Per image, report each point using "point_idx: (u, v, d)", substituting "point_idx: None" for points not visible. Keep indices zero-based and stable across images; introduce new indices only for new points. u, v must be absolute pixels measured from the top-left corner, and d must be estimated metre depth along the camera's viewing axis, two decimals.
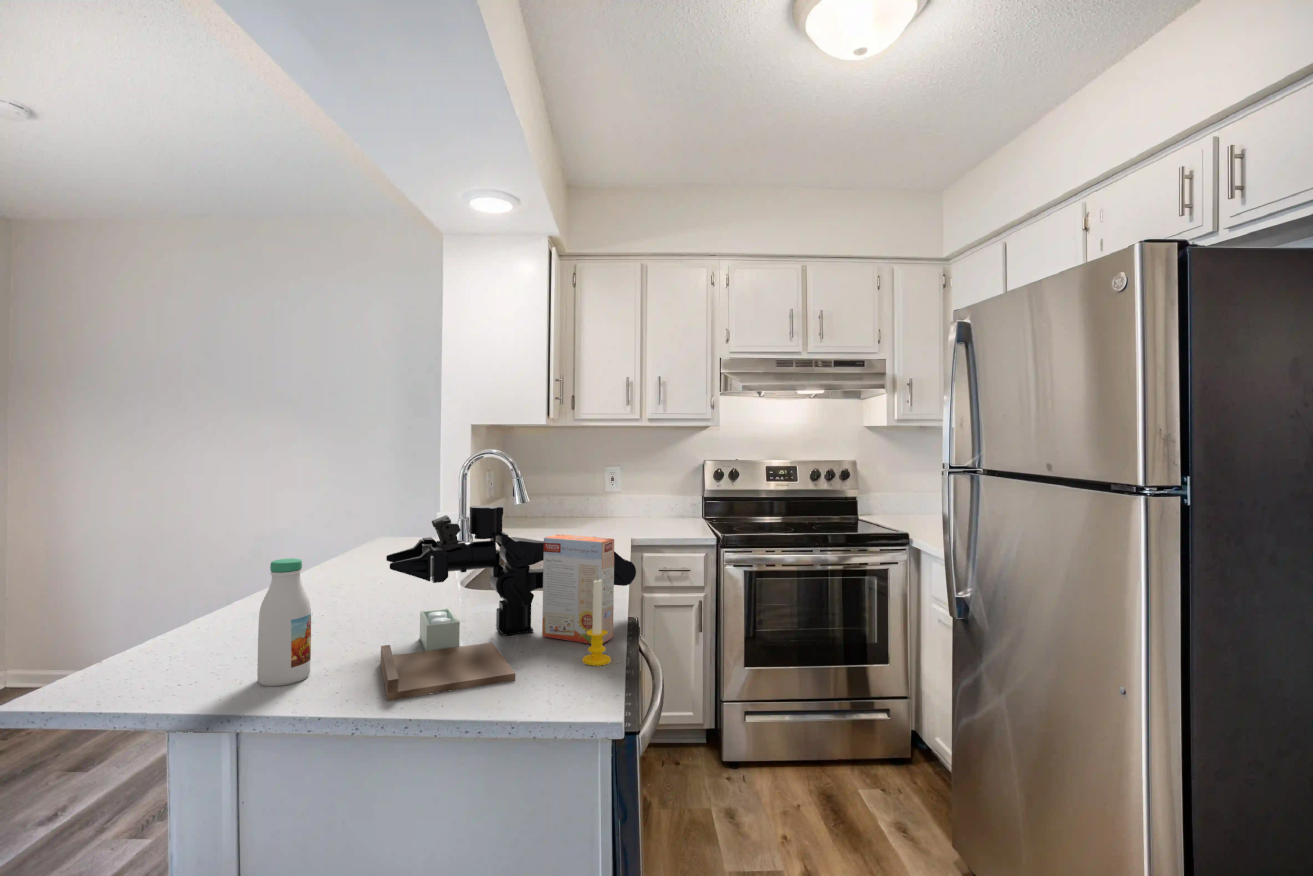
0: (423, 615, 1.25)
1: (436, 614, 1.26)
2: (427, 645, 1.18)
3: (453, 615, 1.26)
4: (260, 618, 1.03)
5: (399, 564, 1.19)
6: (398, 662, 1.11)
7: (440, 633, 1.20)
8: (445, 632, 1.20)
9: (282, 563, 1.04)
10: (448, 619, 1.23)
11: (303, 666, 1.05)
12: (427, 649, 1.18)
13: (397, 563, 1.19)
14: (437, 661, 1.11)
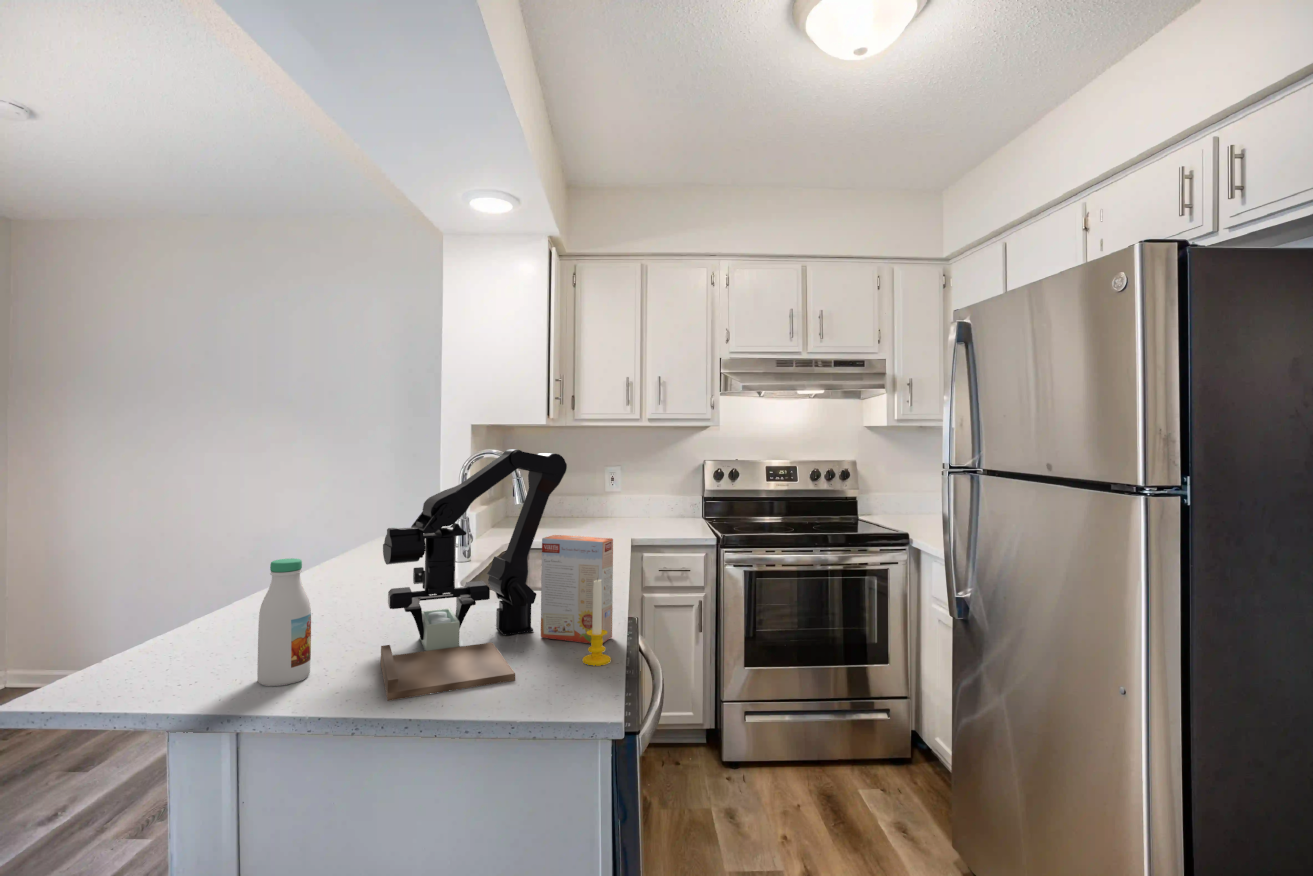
0: (423, 615, 1.25)
1: (436, 614, 1.26)
2: (427, 645, 1.18)
3: (453, 615, 1.26)
4: (260, 618, 1.03)
5: (418, 631, 1.23)
6: (398, 662, 1.11)
7: (440, 633, 1.20)
8: (445, 632, 1.20)
9: (282, 563, 1.04)
10: (448, 619, 1.23)
11: (303, 666, 1.05)
12: (427, 649, 1.18)
13: None
14: (437, 661, 1.11)
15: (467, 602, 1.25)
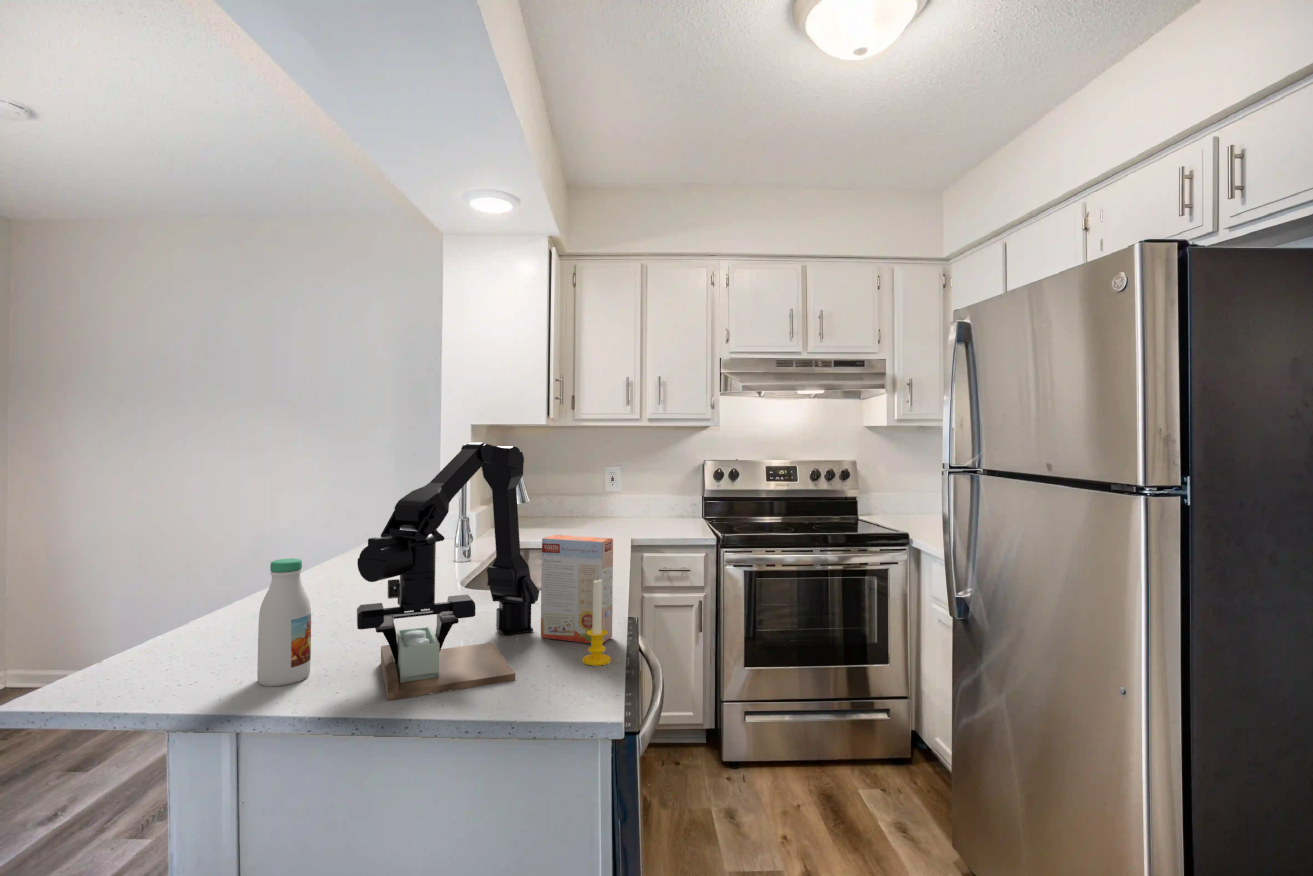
0: (398, 635, 1.08)
1: (413, 634, 1.09)
2: (401, 671, 1.01)
3: (433, 635, 1.09)
4: (260, 618, 1.03)
5: None
6: None
7: (416, 657, 1.03)
8: (422, 656, 1.03)
9: (282, 563, 1.04)
10: (427, 640, 1.06)
11: (303, 666, 1.05)
12: (401, 676, 1.01)
13: None
14: None
15: (448, 620, 1.08)
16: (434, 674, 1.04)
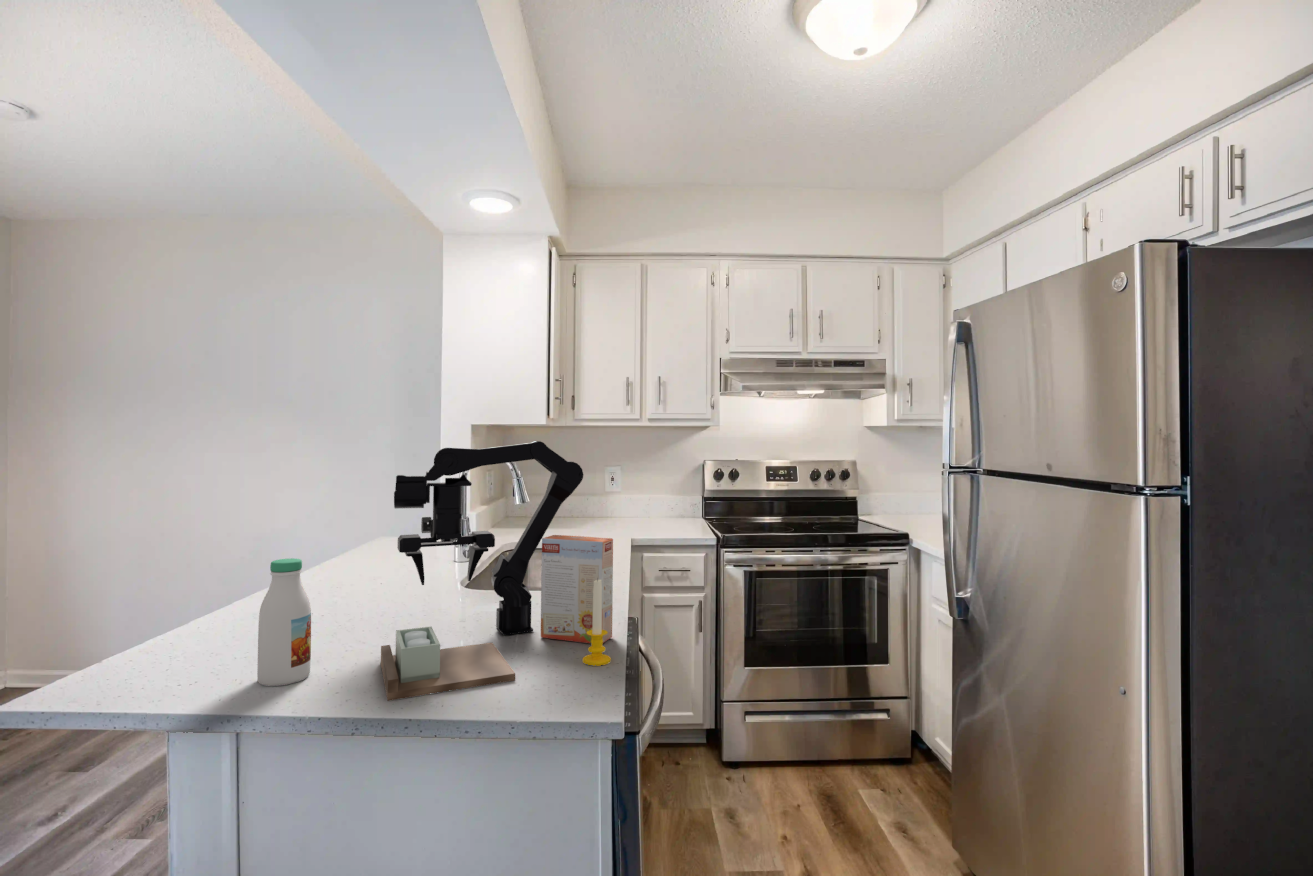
0: (399, 635, 1.08)
1: (414, 634, 1.09)
2: (402, 672, 1.01)
3: (433, 635, 1.09)
4: (260, 618, 1.03)
5: (419, 576, 1.28)
6: None
7: (417, 657, 1.03)
8: (423, 656, 1.03)
9: (282, 563, 1.04)
10: (427, 640, 1.06)
11: (303, 666, 1.05)
12: (402, 676, 1.01)
13: None
14: None
15: (480, 548, 1.31)
16: (435, 674, 1.04)
